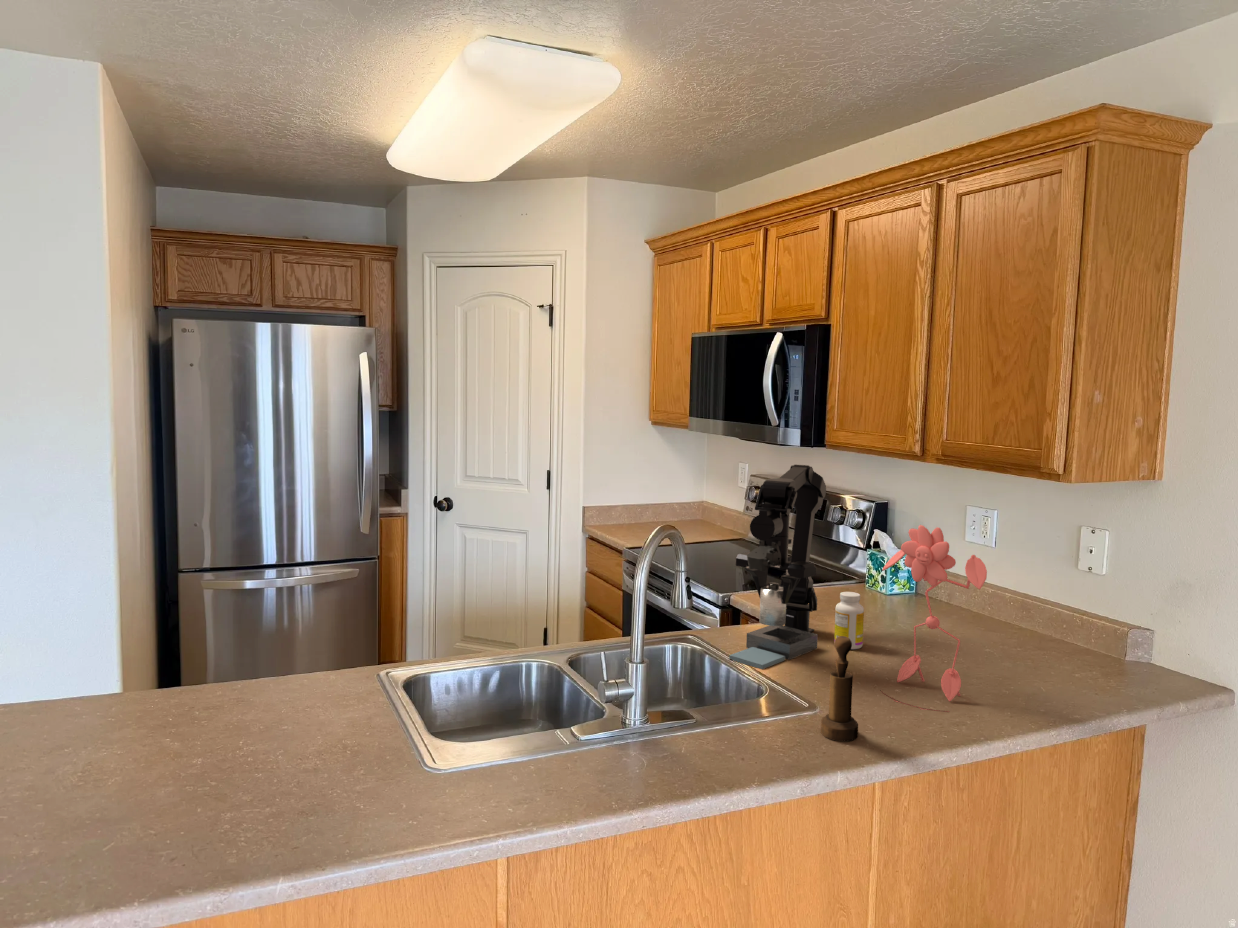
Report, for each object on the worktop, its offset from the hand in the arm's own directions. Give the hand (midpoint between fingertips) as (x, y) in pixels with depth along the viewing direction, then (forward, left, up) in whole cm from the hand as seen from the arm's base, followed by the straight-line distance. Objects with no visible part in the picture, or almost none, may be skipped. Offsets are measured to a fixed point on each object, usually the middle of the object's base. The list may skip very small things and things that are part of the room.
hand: (773, 601), depth 195 cm
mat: (+6, 0, -13) cm, 14 cm away
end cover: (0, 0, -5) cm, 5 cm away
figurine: (-1, +35, -13) cm, 38 cm away
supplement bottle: (-19, +9, -13) cm, 25 cm away
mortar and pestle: (+29, +34, -13) cm, 47 cm away
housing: (-5, -1, -13) cm, 14 cm away
